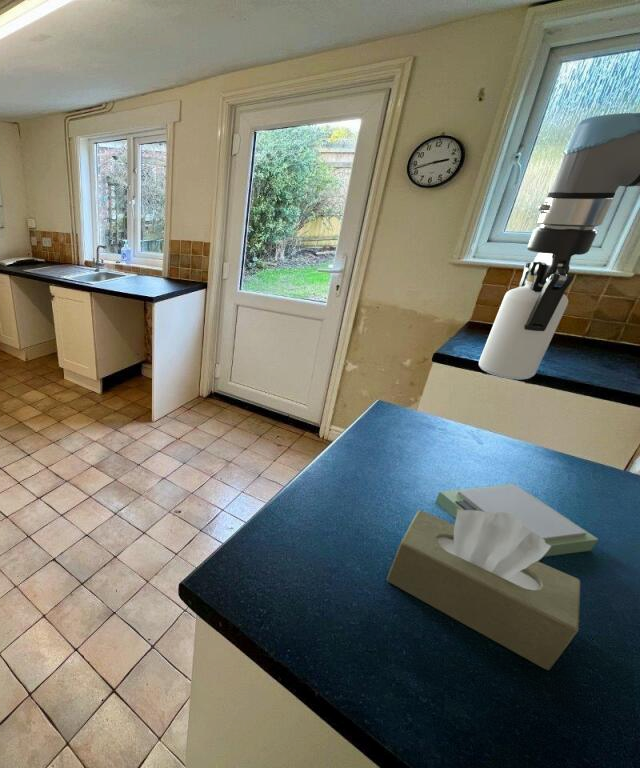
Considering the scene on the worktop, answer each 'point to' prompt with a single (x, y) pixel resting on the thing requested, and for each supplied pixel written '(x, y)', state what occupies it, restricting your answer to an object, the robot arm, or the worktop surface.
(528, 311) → the white bottle
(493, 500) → the kitchen scale
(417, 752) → the worktop surface
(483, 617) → the tissue box
